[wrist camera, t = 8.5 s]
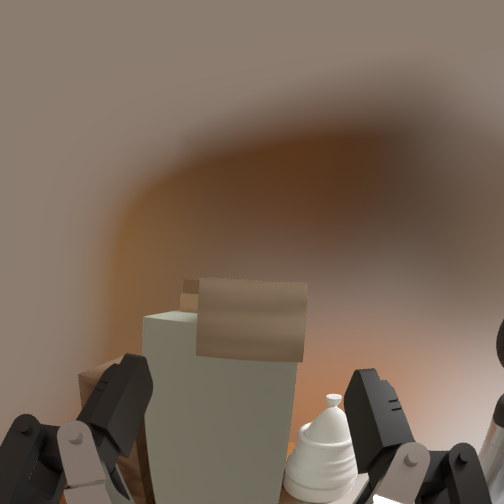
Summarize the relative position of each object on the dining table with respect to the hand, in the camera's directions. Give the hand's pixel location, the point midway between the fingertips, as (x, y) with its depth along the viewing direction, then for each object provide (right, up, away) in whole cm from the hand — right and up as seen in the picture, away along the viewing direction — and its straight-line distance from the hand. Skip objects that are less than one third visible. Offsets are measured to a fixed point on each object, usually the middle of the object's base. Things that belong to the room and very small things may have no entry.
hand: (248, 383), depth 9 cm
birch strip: (0, -1, +13) cm, 13 cm away
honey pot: (+12, -36, +24) cm, 45 cm away
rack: (-4, -33, +13) cm, 36 cm away
